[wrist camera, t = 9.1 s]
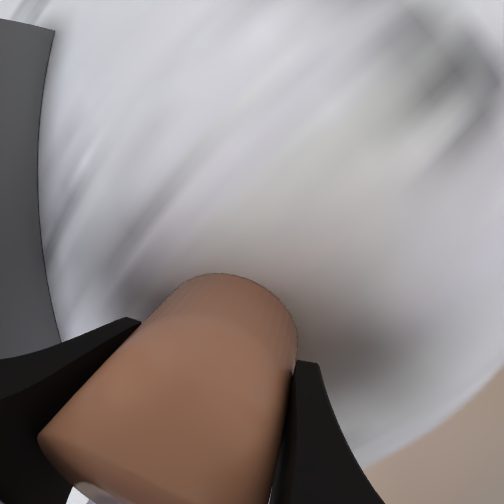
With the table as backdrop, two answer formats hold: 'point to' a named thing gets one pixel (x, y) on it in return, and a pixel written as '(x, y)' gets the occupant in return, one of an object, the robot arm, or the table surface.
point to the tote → (22, 192)
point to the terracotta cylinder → (184, 402)
